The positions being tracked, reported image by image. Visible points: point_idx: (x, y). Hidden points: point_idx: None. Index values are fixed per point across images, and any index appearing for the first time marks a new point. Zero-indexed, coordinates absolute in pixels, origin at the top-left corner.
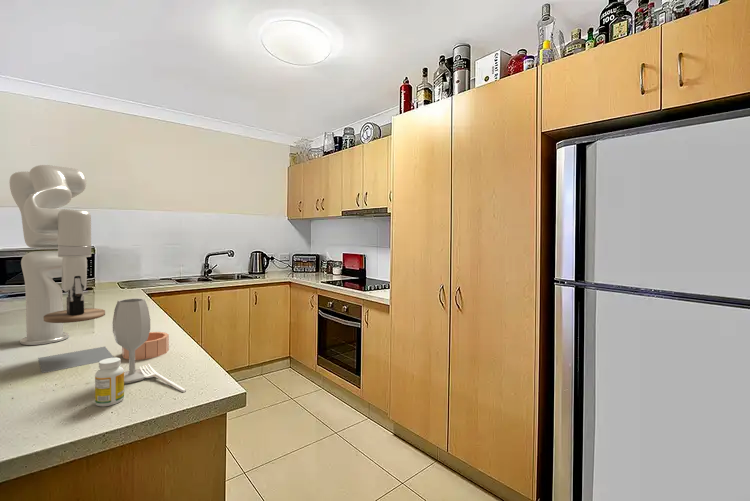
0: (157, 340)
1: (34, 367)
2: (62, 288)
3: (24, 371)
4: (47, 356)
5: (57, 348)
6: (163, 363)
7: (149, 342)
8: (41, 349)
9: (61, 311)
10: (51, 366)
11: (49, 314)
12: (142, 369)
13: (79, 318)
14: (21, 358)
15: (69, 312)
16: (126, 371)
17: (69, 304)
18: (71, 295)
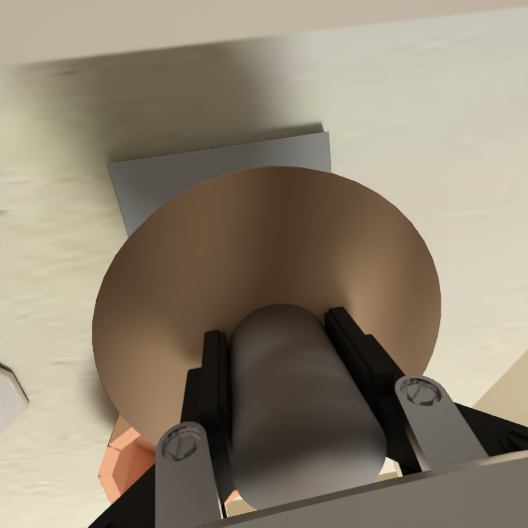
0: (112, 501)
1: (248, 127)
2: (398, 494)
3: (215, 100)
4: (328, 160)
5: (457, 177)
6: (81, 452)
7: (102, 482)
8: (484, 126)
9: (406, 262)
10: (178, 185)
11: (335, 199)
12: (5, 422)
13: (103, 383)
14: (405, 70)
15: (207, 340)
16: (2, 388)
17: (200, 390)
18: (158, 511)
